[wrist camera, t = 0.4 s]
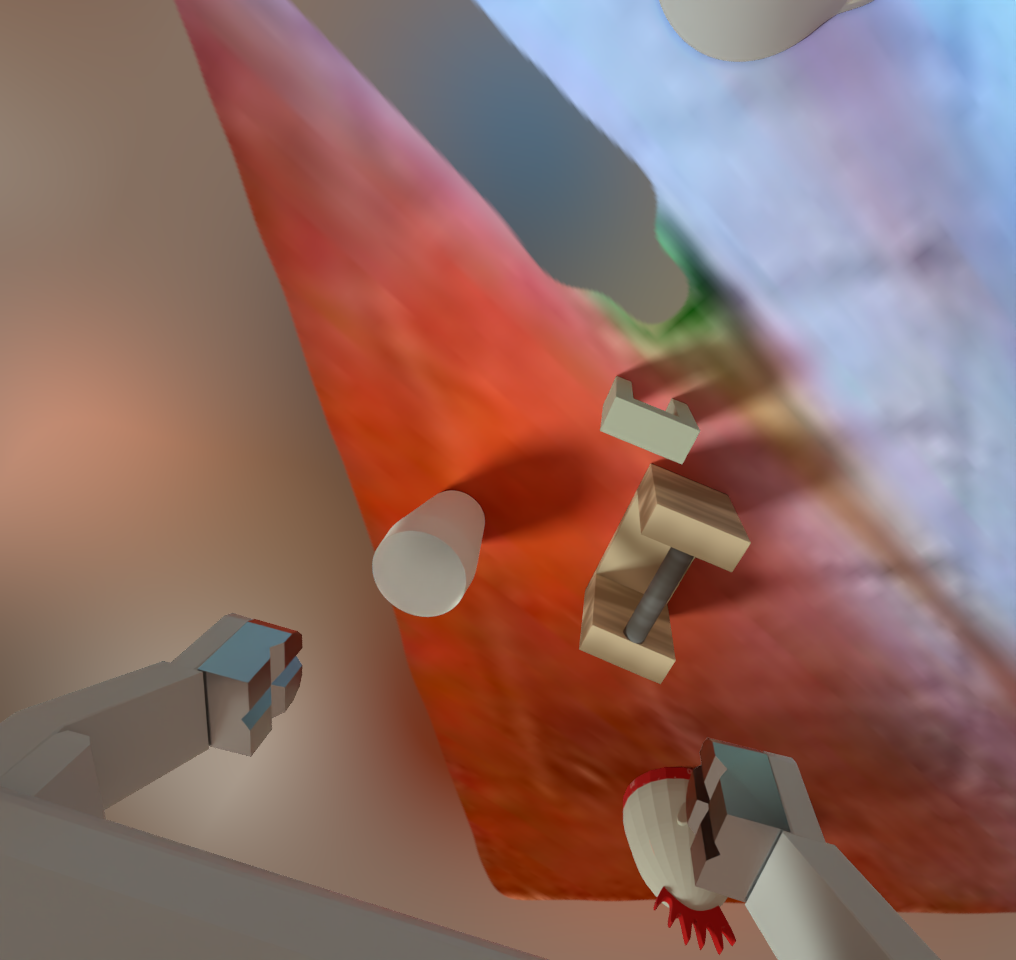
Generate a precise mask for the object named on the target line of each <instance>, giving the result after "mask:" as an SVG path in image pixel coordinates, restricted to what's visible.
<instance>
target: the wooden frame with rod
mask: <svg viewBox="0 0 1016 960" xmlns="http://www.w3.org/2000/svg"><path fill="white" fill-rule="evenodd" d="M750 543H751V542H750V540H749V538H748V536H747V534H746V532H745V530H744V528H743V525H742V523H741V521H740V519H739V517H738V515H737V513H736V511H735V509H734V507H733V505H732V503H731V501H730V498H729V496H728V495H726V494H724V493H721V492H719V491H717V490H714V489H712V488H709V487H707V486H704V485H702V484H700V483H697V482H695V481H692V480H690V479H687V478H685V477H683V476H680V475H678V474H675V473H673V472H670V471H668V470H666V469H663V468H661V467H658V466H656V465H654V464H650V466H649V468H648V469H647V471H646V473H645V475H644V477H643V479H642V481H641V483H640V485H639V487H638V489H637V491H636V493H635V495H634V497H633V499H632V501H631V503H630V505H629V506H628V508H627V510H626V512H625V514H624V516H623V518H622V520H621V522H620V524H619V526H618V528H617V530H616V532H615V534H614V536H613V538H612V540H611V541H610V543H609V545H608V547H607V549H606V551H605V553H604V555H603V557H602V559H601V561H600V563H599V565H598V567H597V569H596V571H595V573H594V575H593V577H592V578H591V580H590V582H589V584H588V586H587V588H586V590H585V598H584V608H583V617H582V627H581V636H580V646H579V649H580V650H582V651H584V652H587V653H589V654H591V655H594V656H596V657H598V658H601V659H603V660H605V661H608V662H610V663H612V664H615V665H617V666H619V667H622V668H624V669H626V670H629V671H631V672H633V673H636V674H638V675H640V676H643V677H645V678H647V679H650V680H652V681H654V682H657V683H659V684H661V682H662V681H663V679H664V678H665V676H666V675H667V673H668V671H669V670H670V668H671V667H672V665H673V664H674V662H675V653H674V647H673V640H672V633H671V626H670V619H669V612H668V605H667V603H668V602H669V600H670V598H671V597H672V595H673V593H674V592H675V590H676V588H677V587H678V585H679V583H680V582H681V580H682V578H683V577H684V575H685V573H686V572H687V570H688V568H689V567H690V565H691V563H692V562H693V560H694V558H695V557H696V558H699V559H701V560H703V561H706V562H708V563H711V564H713V565H715V566H718V567H720V568H723V569H725V570H727V571H730V572H732V571H733V570H734V568H735V567H736V565H737V564H738V562H739V561H740V559H741V557H742V556H743V554H744V553H745V551H746V550H747V548H748V547H749V545H750Z"/></svg>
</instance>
